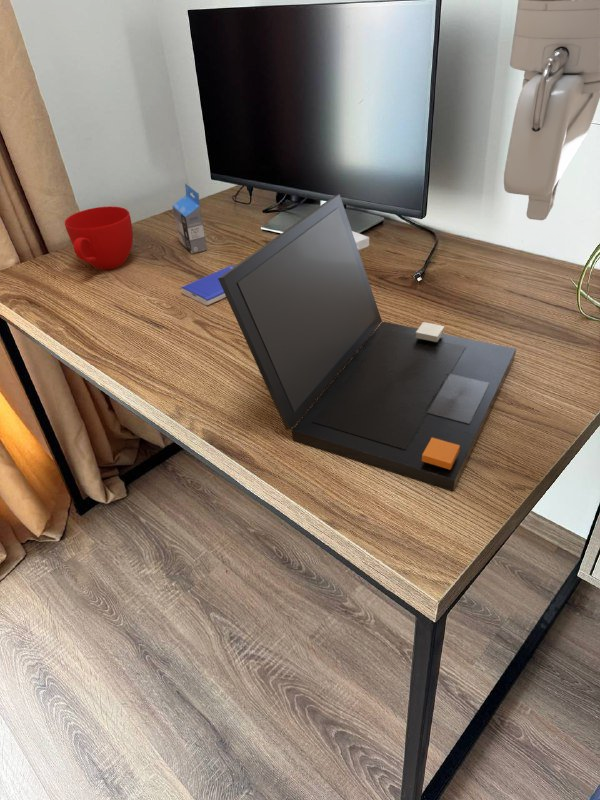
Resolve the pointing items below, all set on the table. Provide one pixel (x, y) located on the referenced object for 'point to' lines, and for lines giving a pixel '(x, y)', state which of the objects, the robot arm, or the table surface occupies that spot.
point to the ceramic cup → (101, 236)
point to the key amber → (440, 453)
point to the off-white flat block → (429, 332)
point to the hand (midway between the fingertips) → (538, 214)
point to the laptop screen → (303, 307)
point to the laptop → (408, 402)
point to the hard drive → (206, 288)
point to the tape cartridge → (190, 222)
